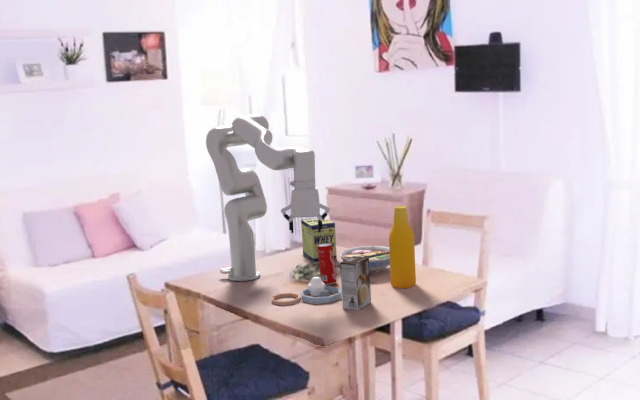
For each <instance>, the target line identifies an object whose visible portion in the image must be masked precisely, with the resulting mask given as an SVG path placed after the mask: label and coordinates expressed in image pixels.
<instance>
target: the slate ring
mask: <svg viewBox="0 0 640 400" xmlns="http://www.w3.org/2000/svg"><path fill="white" fill-rule="evenodd" d="M324 290H327V291H328V292H329V293H332V294H331V295H329V297H314V296H309V295H310V294H311V292H310V291H309V288H308V287H307V288H305V289H302V290H300V297H301V301H302V302H305V303H309V304H313V305H314V304H330V303H333V302H335V301H338V300H340V299H341V300H342V290H341V288H340V287H336V286H335V287H334V286H333V285H332V286H330V285H325V288H324ZM311 295H312V294H311Z"/></svg>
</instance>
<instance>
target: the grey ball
mask: <svg viewBox="0 0 640 400" xmlns="http://www.w3.org/2000/svg"><path fill="white" fill-rule="evenodd" d="M329 296H330V292H328V291H327V290H322V291H321V292H320V293H319V297H329Z"/></svg>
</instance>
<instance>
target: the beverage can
mask: <svg viewBox="0 0 640 400" xmlns="http://www.w3.org/2000/svg"><path fill="white" fill-rule="evenodd" d="M318 258H319V261H318V265H319V273H320V278H321V281H322V282H323V283H324V284H325V286H330V285H334V284H336V283H337V273H336V266H335V265H336V264H335V259H334V254H333V247H332V244H331V243H323V244H319V245H318Z"/></svg>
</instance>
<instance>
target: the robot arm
mask: <svg viewBox="0 0 640 400" xmlns="http://www.w3.org/2000/svg"><path fill="white" fill-rule="evenodd" d="M269 128H270V127H269V121H268V119H267V118H266V117H265V116H263V115H262V114H259V113H256V114H255V113H254V114H247V115H241V116H238V117H236V118H235V119H233V120H232V123H231V124H226V125H225V124H224V125H218V126H215V127H213V128H211V129H210V130H209V131H208V132H207V134H206V139H205V145H206V149H207V153H208V154H209V157H210V158H211V160H212V163H213V167H214V168H215V173H216V175H217V179H218V181H219V186H220V189H221V191H222V193H223V194H224V195H225V196H238V195H243V194H244V195H245V196H241V197H236V198H233V199H230V200H228V201H227V202H226V204H225V205H224V211H223V212H224V217H225V220H226V225H227V229H228V240H229V253H230V254H229V255H230V264H231V265H230V266H228V267H226V268H225V267H222V268H221V267H220V270H219V271H220V272H219V273H220V274H223V275H227V274H228V278H227V279H228V280H230V281H233V282H246V281H247V282H249V281H253V280H254V281H255V280H256V279H259V278H260V277H261V272H260V271H258V270H257V267H256V265H257V264H256V252H255V251H256V249H255V240H254V239H255V237H254V231H253V228H252V226H251V225H250V223H249V221H253V220H257V219H260V218H262V217H264V216H265V215H266V214H267V211H268V207H267V205H268V204H267V201H266V197H265V194H264V189H263V187H262V183H261V181H260V178H259V176H258V174H257V173H256V171H254V170H253V169H252V168H240V169H239V166H238V164H237V160H236V158H235V156H234V155H233V154H232V152H231V151H229V150H228V149H227V148H230V147H231V148H232V147H238V146H244V145H249V146H251V148H253V149H254V153H255V156H256V159H257V160H258V161H259V162H260V163H261V164H263V165H264V166H266V167H267V168H269V169H270V170H273V171H282V170H288V169H293V180H292V181H289V186H292V187H293V188H292V189H291V194H290V195H291V196H290V204H288V205H286V206H285V207H282V208H281V209H280V213H281V214H282V216H283V217H284V219H285V220H287V222H288V225H289V228H288V230H289V231H291V234H293V233H294V219H295V218H318V232H321V231H320V229H322V221H323V219H324V218H327V216H328V214H329V213H330V209H331V208H330V207H329V206H326V205H324V204H322V203H320V195H319V188H318V187H316V161H315V160H316V155H315V151H314V150H313V149H309V148H308V149H307V148H301V147H299V146H288V147H281V148H273V147H271V144H272V142H273V133H272V132H271V131H270V130H269ZM321 209H322V210H324V212H323V213H322V214H321ZM289 210H290V215H289V214H288V213H287V211H289Z"/></svg>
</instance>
